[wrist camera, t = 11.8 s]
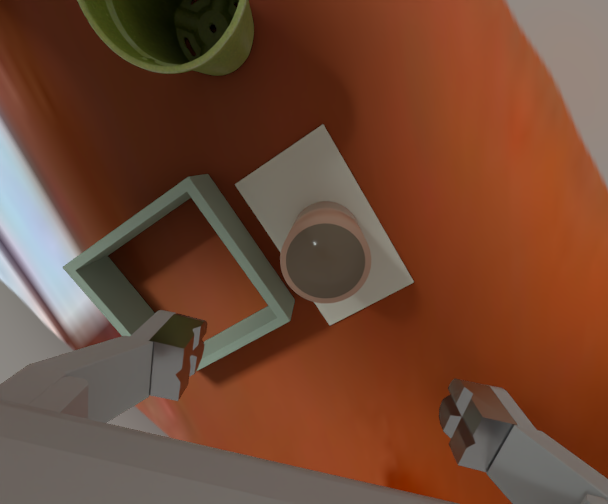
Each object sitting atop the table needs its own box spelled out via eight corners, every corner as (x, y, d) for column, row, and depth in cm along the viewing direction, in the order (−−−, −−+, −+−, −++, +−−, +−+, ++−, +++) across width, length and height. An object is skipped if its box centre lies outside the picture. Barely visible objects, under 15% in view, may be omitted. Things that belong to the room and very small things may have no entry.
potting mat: (235, 184, 27) (234, 184, 27) (323, 124, 25) (323, 124, 25) (329, 324, 30) (329, 325, 30) (413, 281, 28) (414, 282, 28)
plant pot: (299, 56, 24) (284, 2, 15) (202, 123, 25) (141, 106, 17) (233, -75, 21) (174, -221, 13) (132, 8, 23) (26, -73, 15)
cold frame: (96, 253, 30) (62, 267, 26) (208, 173, 27) (188, 176, 23) (185, 360, 33) (166, 387, 29) (295, 299, 30) (290, 320, 26)
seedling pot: (279, 223, 27) (262, 247, 20) (337, 187, 26) (341, 199, 19) (314, 277, 29) (310, 318, 21) (371, 245, 27) (388, 277, 20)
